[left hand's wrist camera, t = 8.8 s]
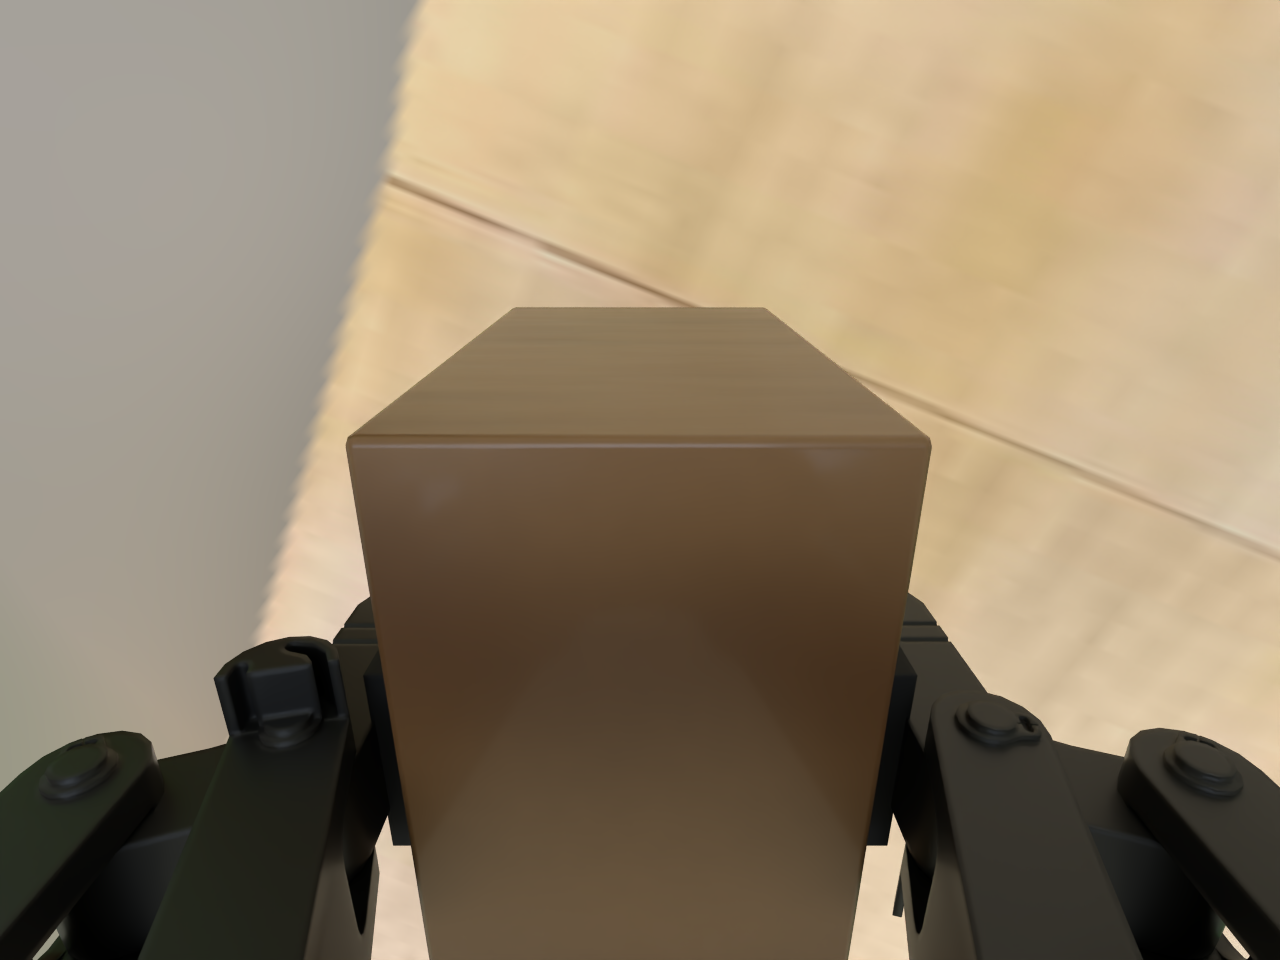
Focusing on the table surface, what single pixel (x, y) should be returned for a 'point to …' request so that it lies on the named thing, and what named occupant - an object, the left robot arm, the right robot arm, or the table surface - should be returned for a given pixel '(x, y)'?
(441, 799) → the bar
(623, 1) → the table surface
